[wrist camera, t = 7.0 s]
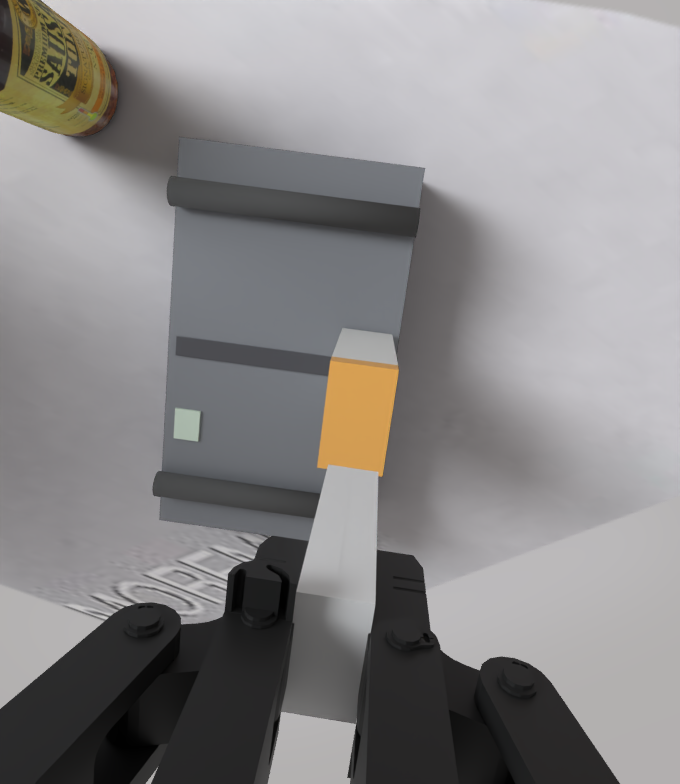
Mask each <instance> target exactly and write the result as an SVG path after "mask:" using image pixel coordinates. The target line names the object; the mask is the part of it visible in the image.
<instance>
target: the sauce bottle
mask: <svg viewBox="0 0 680 784" xmlns="http://www.w3.org/2000/svg"><path fill="white" fill-rule="evenodd" d="M117 87H118V83H117V80H116V76H115V71H114V70H113V68H112V66H111V64H110V63H109V62H108V60H107V59H106V57H105V56H104V54H103V53H102V52H101V50H100V49H99V48H98V46H97V45H96V44H95V43H94V42H93V41H92V40H91V39H90V38H89V37H87V36H86V35H85V34H84V33H82V32H81V31H80V30H78V29H77V28H76V27H74V26H73V25H72V24H71V23H69V22H68V21H67V20H65V19H64V18H63V17H61V16H60V15H59V14H57V13H56V12H55V11H53V10H52V9H51V8H50V7H48V6H47V5H46V4H45V3H43V2H42V1H41V0H0V112H3V113H5V114H8V115H10V116H13V117H15V118H18V119H20V120H23V121H25V122H27V123H30V124H32V125H35V126H38V127H40V128H43V129H45V130H48V131H51V132H54V133H58V134H63V135H66V136H88V135H91V134H95V133H97V132H98V131H100V130H102V129H103V127H105V126H106V125H107V124H108V123H109V121H110V120H111V118H112V116H113V114H114V113H115V109H116V105H117V96H118V88H117Z"/></svg>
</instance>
